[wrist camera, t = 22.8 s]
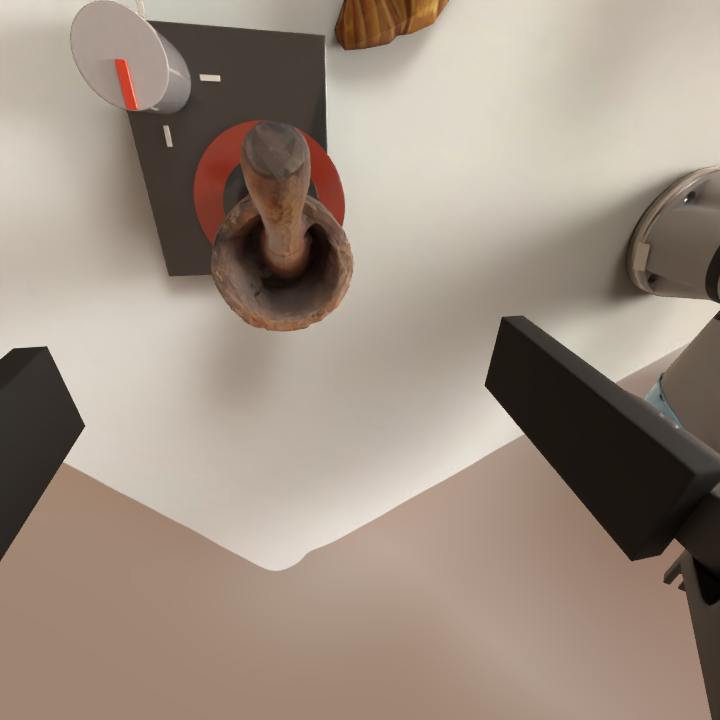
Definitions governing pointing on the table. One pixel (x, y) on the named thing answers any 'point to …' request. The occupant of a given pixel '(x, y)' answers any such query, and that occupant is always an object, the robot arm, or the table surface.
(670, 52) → the table surface
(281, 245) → the mortar and pestle
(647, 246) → the robot arm
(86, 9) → the knob
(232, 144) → the burner
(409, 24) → the croissant
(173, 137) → the stove
